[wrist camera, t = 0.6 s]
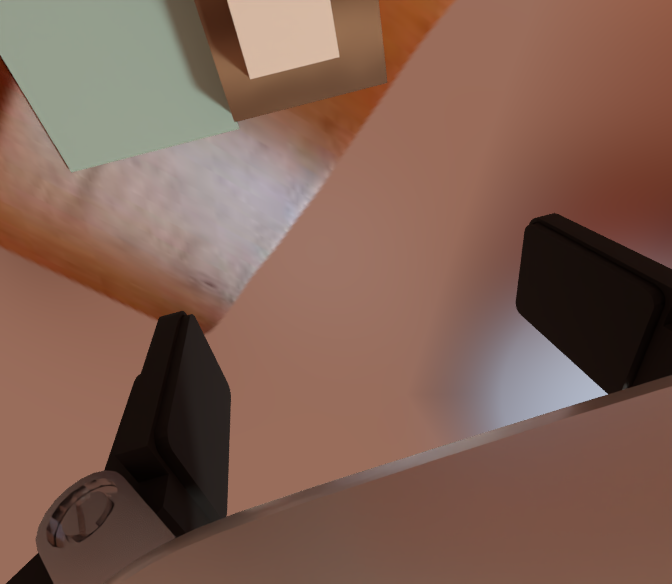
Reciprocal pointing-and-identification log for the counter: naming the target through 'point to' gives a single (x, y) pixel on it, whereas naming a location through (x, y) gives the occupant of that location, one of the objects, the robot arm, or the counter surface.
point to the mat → (114, 75)
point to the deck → (303, 82)
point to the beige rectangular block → (283, 33)
